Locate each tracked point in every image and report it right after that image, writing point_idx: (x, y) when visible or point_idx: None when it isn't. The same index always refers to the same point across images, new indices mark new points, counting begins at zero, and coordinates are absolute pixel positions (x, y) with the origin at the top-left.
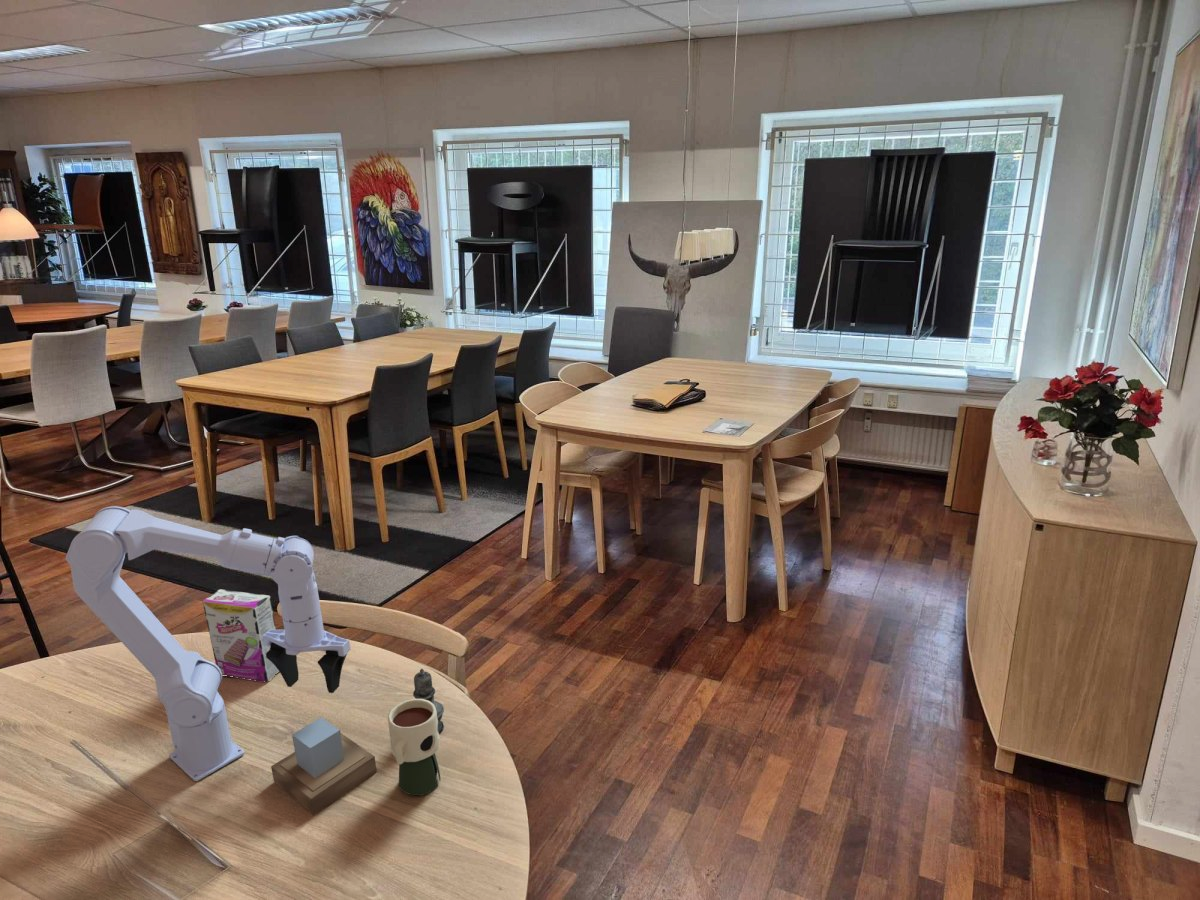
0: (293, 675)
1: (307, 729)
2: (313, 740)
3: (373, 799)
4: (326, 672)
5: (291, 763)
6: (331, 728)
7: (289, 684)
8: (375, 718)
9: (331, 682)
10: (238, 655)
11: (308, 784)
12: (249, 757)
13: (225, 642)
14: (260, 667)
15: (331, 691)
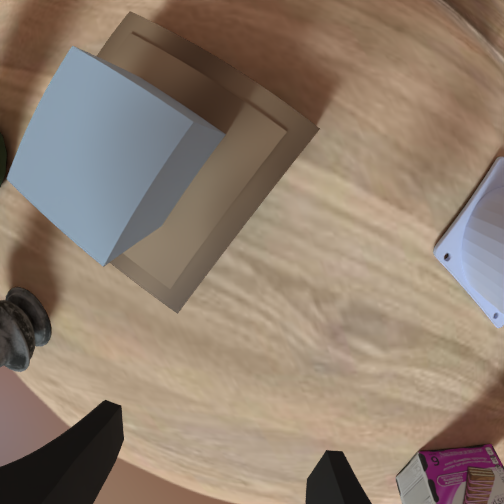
0: (319, 498)
1: (126, 168)
2: (71, 93)
3: None
4: (30, 482)
5: (248, 137)
6: (32, 185)
7: (331, 460)
8: (137, 366)
9: (61, 434)
10: (475, 485)
11: (151, 51)
12: (417, 239)
13: (498, 499)
14: (435, 475)
15: (99, 404)
